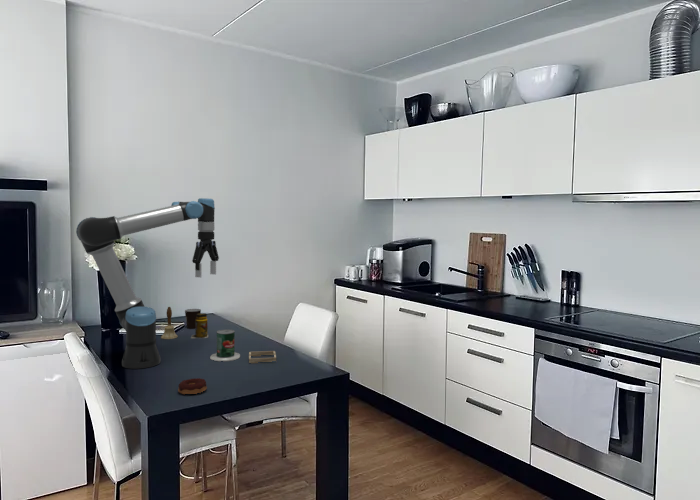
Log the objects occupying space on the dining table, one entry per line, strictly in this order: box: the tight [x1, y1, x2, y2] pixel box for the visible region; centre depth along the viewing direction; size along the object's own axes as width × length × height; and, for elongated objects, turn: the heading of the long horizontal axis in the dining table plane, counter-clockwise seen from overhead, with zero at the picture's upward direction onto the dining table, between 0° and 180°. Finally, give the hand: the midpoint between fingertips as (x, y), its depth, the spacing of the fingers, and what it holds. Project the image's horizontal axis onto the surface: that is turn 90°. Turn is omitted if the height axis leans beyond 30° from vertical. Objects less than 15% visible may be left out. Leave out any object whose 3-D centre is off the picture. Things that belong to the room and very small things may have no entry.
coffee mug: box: [184, 308, 202, 330], centre depth 283 cm, size 12×9×10 cm
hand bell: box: [160, 306, 178, 340], centre depth 258 cm, size 8×8×16 cm
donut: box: [177, 377, 208, 395], centre depth 180 cm, size 10×10×4 cm
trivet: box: [209, 352, 241, 362], centre depth 224 cm, size 13×13×1 cm
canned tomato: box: [216, 329, 236, 358], centre depth 223 cm, size 8×8×11 cm
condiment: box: [190, 312, 209, 339], centre depth 261 cm, size 7×8×12 cm
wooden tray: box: [248, 350, 277, 364], centre depth 221 cm, size 12×12×2 cm
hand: (206, 275), depth 238 cm, fingers open, 13 cm apart
